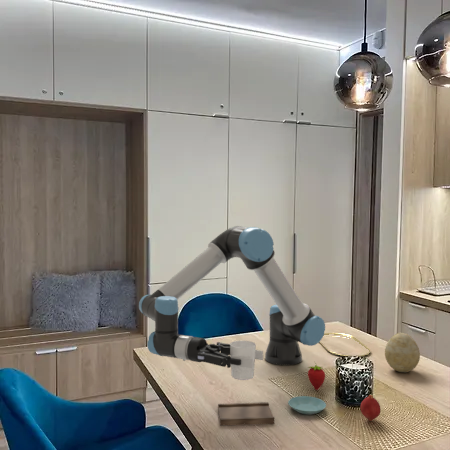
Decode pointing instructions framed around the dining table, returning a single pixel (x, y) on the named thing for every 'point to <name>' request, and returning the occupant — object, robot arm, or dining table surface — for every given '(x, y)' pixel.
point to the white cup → (242, 350)
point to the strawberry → (316, 376)
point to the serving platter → (350, 337)
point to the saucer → (307, 404)
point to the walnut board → (245, 413)
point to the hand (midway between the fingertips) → (257, 359)
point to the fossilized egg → (402, 352)
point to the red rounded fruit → (370, 408)
